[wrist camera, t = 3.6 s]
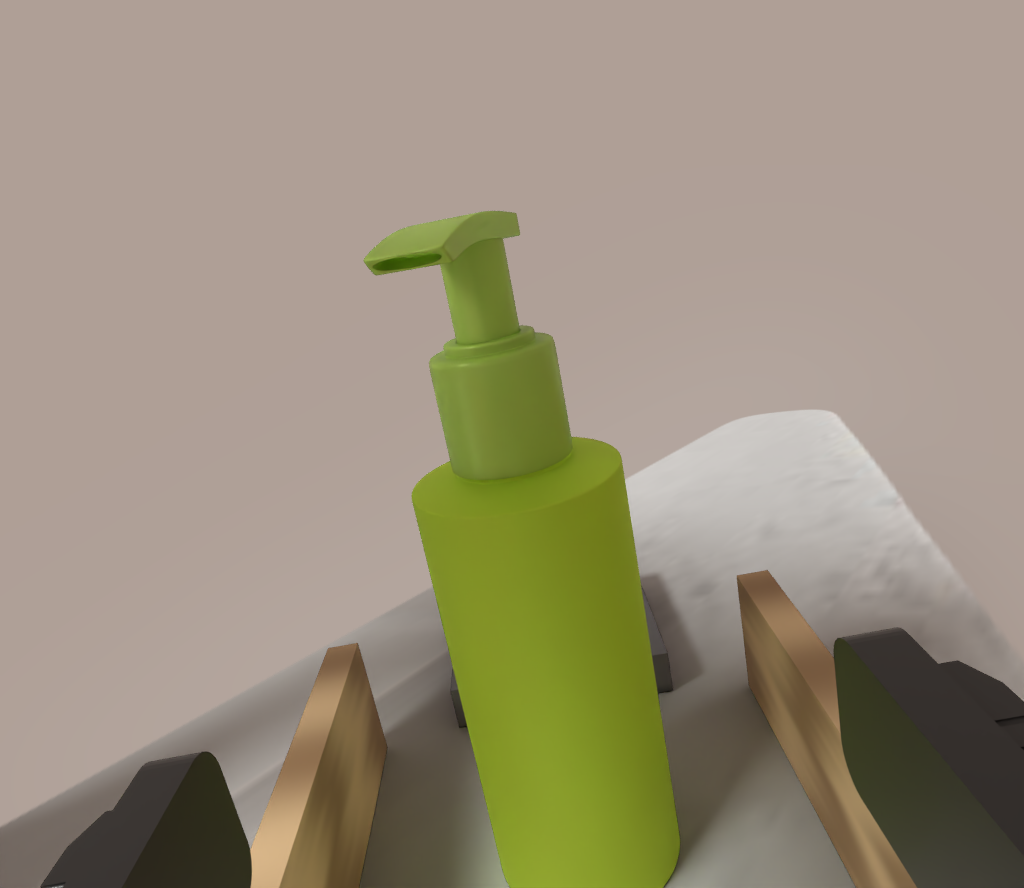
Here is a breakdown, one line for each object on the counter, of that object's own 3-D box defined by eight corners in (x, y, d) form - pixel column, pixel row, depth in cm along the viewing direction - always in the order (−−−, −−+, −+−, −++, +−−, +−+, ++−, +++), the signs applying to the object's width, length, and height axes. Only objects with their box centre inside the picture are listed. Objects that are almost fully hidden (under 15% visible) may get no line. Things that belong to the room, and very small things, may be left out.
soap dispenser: (463, 941, 22) (276, 252, 17) (528, 771, 29) (408, 226, 23) (665, 973, 20) (531, 201, 15) (688, 783, 27) (601, 188, 21)
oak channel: (994, 1040, 17) (994, 871, 16) (257, 1153, 18) (192, 1001, 17) (778, 680, 31) (767, 570, 29) (358, 752, 31) (327, 648, 30)
